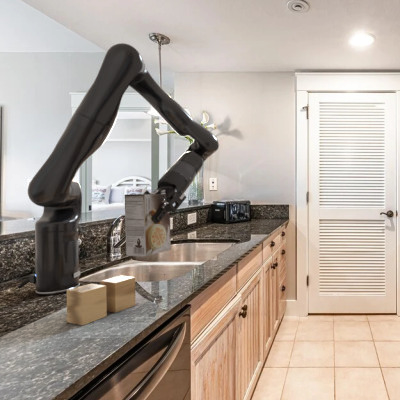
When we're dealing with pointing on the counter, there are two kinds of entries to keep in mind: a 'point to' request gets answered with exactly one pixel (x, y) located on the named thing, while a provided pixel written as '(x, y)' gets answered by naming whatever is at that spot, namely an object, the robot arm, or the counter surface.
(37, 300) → the counter surface
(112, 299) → the maple block middle
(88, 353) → the counter surface
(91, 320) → the maple block near
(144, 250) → the printed cardboard box
